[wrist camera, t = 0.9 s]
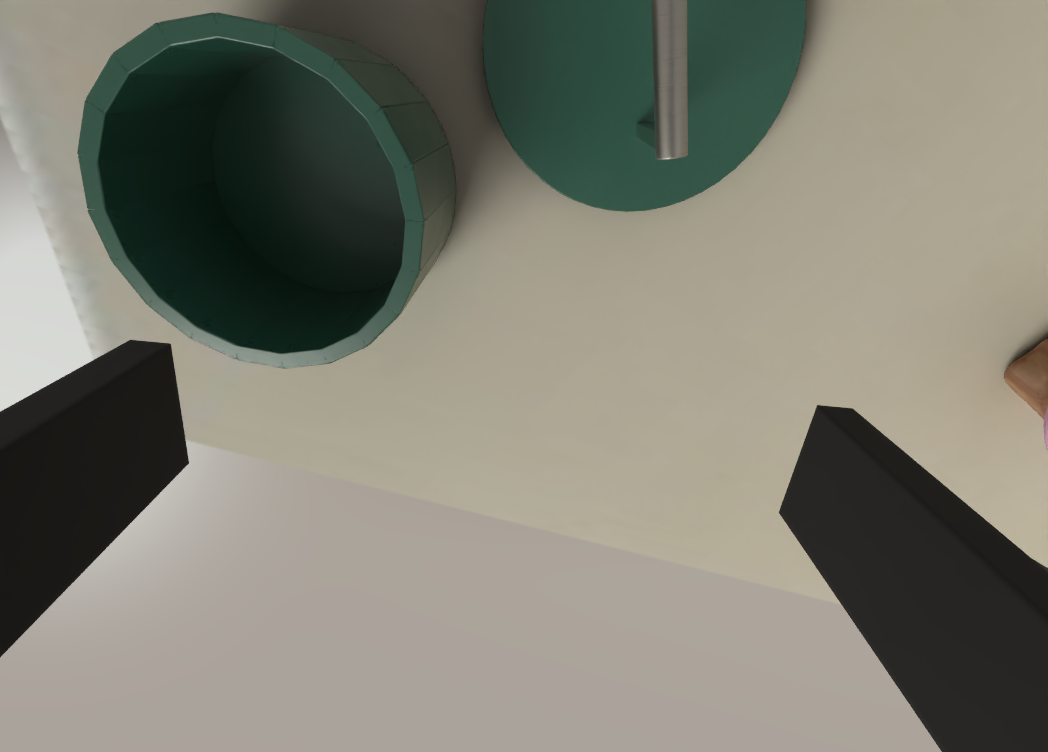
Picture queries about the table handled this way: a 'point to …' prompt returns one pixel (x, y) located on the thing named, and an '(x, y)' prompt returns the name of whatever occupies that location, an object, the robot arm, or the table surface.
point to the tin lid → (638, 90)
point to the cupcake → (1032, 380)
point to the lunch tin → (265, 185)
